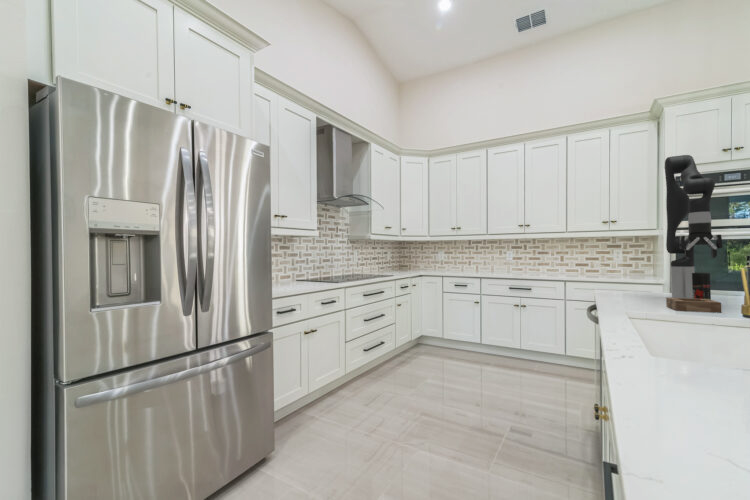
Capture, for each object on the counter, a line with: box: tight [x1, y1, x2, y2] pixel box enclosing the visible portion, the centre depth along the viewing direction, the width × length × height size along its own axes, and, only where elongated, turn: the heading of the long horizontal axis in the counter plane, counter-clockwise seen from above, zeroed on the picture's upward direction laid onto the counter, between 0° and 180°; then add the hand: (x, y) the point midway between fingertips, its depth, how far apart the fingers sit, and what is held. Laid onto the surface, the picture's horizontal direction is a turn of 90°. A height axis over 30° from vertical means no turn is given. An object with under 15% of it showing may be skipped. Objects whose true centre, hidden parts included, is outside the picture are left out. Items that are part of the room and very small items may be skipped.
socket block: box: [665, 297, 722, 314], centre depth 148 cm, size 14×14×4 cm
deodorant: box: [692, 272, 712, 300], centre depth 156 cm, size 6×6×15 cm
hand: (700, 258), depth 156 cm, fingers open, 8 cm apart
